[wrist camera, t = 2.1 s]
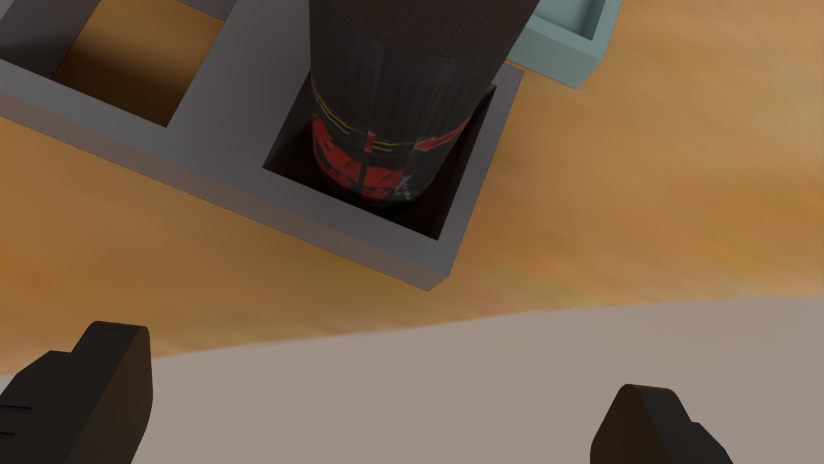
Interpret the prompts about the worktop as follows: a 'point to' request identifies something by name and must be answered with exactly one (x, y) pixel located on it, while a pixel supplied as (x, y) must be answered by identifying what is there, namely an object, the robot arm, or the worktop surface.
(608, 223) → the worktop surface
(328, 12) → the deodorant
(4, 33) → the holder
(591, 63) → the tray
